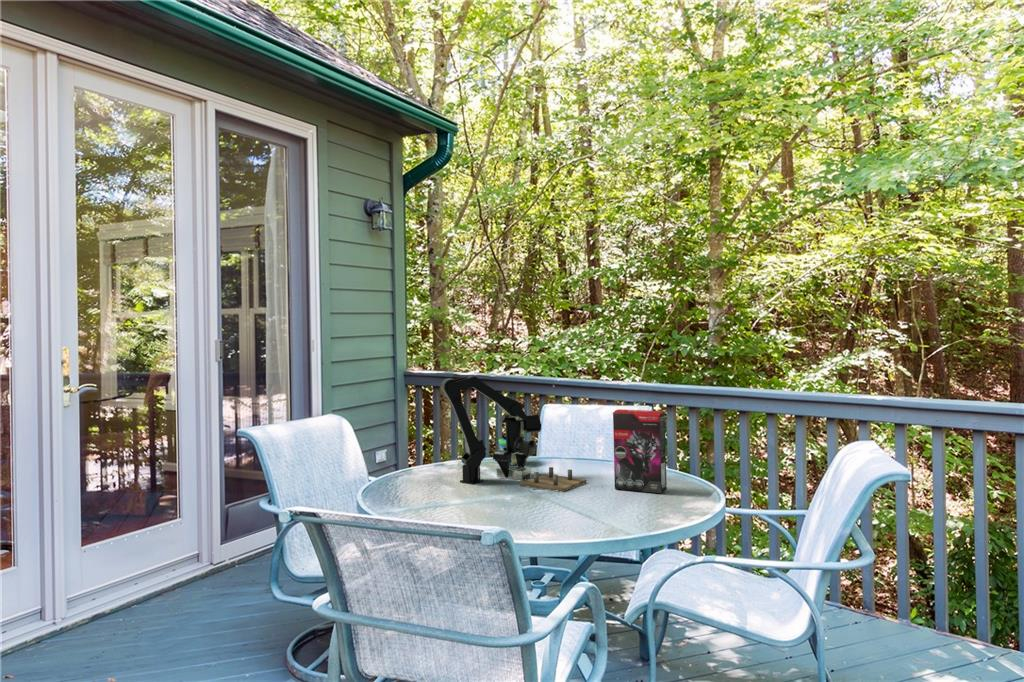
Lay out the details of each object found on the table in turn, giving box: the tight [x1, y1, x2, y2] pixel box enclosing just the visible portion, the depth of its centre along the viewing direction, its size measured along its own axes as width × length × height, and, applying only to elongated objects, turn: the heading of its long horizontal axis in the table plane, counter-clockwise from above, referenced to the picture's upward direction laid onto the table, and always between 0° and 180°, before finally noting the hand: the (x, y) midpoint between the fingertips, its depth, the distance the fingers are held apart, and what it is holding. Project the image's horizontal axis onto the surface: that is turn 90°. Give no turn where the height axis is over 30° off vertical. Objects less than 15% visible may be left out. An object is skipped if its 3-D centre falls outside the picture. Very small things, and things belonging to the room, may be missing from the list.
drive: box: [496, 465, 532, 482], centre depth 267 cm, size 6×11×4 cm, turn 57°
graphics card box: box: [612, 409, 668, 494], centre depth 245 cm, size 17×7×27 cm, turn 62°
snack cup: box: [498, 437, 526, 466], centre depth 294 cm, size 16×10×10 cm
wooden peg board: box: [519, 466, 588, 492], centre depth 256 cm, size 16×18×5 cm
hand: (514, 475), depth 267 cm, fingers open, 9 cm apart
